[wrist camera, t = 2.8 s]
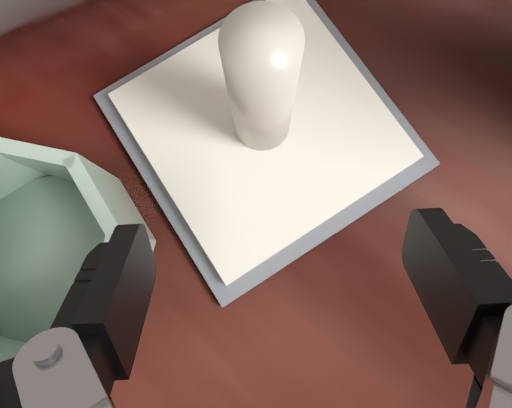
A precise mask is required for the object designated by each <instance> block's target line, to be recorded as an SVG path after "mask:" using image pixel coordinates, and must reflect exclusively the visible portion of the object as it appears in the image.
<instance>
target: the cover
mask: <svg viewBox="0 0 512 408" xmlns="http://www.w3.org/2000/svg"><path fill="white" fill-rule="evenodd" d="M108 95H109V97H110V99H111V100H112V102H113V104H114V105H115V107H116V108H117V110H118V112H119V113H120V115H121V117H122V118H123V120H124V121H125V123H126V125H127V126H128V128H129V129H130V131H131V133H132V134H133V136H134V138H135V139H136V141H137V142H138V144H139V146H140V147H141V149H142V151H143V152H144V154H145V155H146V157H147V159H148V160H149V162H150V163H151V165H152V167H153V168H154V170H155V172H156V173H157V175H158V176H159V178H160V180H161V181H162V183H163V185H164V186H165V188H166V189H167V191H168V193H169V194H170V196H171V197H172V199H173V201H174V202H175V204H176V206H177V207H178V209H179V210H180V212H181V214H182V215H183V217H184V219H185V220H186V222H187V223H188V225H189V227H190V228H191V230H192V232H193V233H194V235H195V236H196V238H197V240H198V241H199V243H200V244H201V246H202V248H203V249H204V251H205V253H206V254H207V256H208V257H209V259H210V261H211V262H212V264H213V266H214V267H215V269H216V270H217V272H218V274H219V275H220V277H221V278H222V280H223V282H224V283H225V285H226V286H227V285H229V284H230V283H232V282H233V281H235V280H236V279H238V278H239V277H241V276H242V275H244V274H245V273H247V272H248V271H250V270H251V269H253V268H255V267H256V266H258V265H259V264H261V263H262V262H264V261H265V260H267V259H268V258H270V257H271V256H273V255H274V254H276V253H277V252H279V251H280V250H282V249H283V248H285V247H287V246H288V245H290V244H291V243H293V242H294V241H296V240H297V239H299V238H300V237H302V236H303V235H305V234H306V233H308V232H309V231H311V230H312V229H314V228H316V227H317V226H319V225H320V224H322V223H323V222H325V221H326V220H328V219H329V218H331V217H332V216H334V215H335V214H337V213H338V212H340V211H341V210H343V209H344V208H346V207H348V206H349V205H351V204H352V203H354V202H355V201H357V200H358V199H360V198H361V197H363V196H364V195H366V194H367V193H369V192H370V191H372V190H373V189H375V188H376V187H378V186H380V185H381V184H383V183H384V182H386V181H387V180H389V179H390V178H392V177H393V176H395V175H396V174H398V173H399V172H401V171H402V170H404V169H405V168H407V167H409V166H410V165H412V164H413V163H415V162H416V161H418V160H419V159H421V158H422V157H423V156H424V155H423V154H422V153H421V152H420V150H419V149H418V148H417V146H416V145H415V144H414V142H413V141H412V140H411V138H410V137H409V136H408V134H407V133H406V132H405V130H404V129H403V128H402V126H401V125H400V124H399V123H398V121H397V120H396V119H395V117H394V116H393V115H392V113H391V112H390V111H389V109H388V108H387V107H386V105H385V104H384V103H383V101H382V100H381V99H380V98H379V96H378V95H377V94H376V92H375V91H374V90H373V88H372V87H371V86H370V84H369V83H368V82H367V80H366V79H365V78H364V76H363V75H362V74H361V72H360V71H359V70H358V69H357V67H356V66H355V65H354V63H353V62H352V61H351V59H350V58H349V57H348V55H347V54H346V53H345V51H344V50H343V49H342V47H341V46H340V45H339V43H338V42H337V41H336V40H335V38H334V37H333V36H332V34H331V33H330V32H329V30H328V29H327V28H326V26H325V25H324V24H323V22H322V21H321V20H320V18H319V17H318V16H317V14H316V13H315V12H314V11H313V9H312V8H311V7H310V5H309V4H308V3H307V1H306V0H266V1H253V2H249V3H246V4H243V5H241V6H239V7H238V8H236V9H235V10H233V11H232V12H231V13H230V14H229V15H228V16H227V17H226V18H225V20H224V21H223V23H222V25H221V27H220V28H218V29H217V30H215V31H213V32H212V33H210V34H208V35H206V36H205V37H203V38H201V39H200V40H198V41H196V42H195V43H193V44H191V45H190V46H188V47H186V48H185V49H183V50H181V51H179V52H178V53H176V54H174V55H173V56H171V57H169V58H168V59H166V60H164V61H163V62H161V63H159V64H158V65H156V66H154V67H152V68H151V69H149V70H147V71H146V72H144V73H142V74H141V75H139V76H137V77H136V78H134V79H132V80H131V81H129V82H127V83H125V84H124V85H122V86H120V87H119V88H117V89H115V90H114V91H112V92H110V93H109V94H108Z"/></svg>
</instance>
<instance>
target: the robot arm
mask: <svg viewBox="0 0 512 408" xmlns="http://www.w3.org/2000/svg"><path fill="white" fill-rule="evenodd" d="M402 260H403V264H404V267H405V270H406V272H407V274H408V276H409V278H410V280H411V282H412V284H413V286H414V288H415V290H416V292H417V294H418V296H419V298H420V300H421V302H422V304H423V306H424V308H425V310H426V312H427V314H428V317H429V319H430V321H431V323H432V325H433V327H434V329H435V331H436V333H437V335H438V337H439V339H440V341H441V343H442V345H443V347H444V349H445V351H446V353H447V355H448V357H449V359H450V361H451V363H452V364H469V365H470V367H471V369H472V371H473V372H474V373H473V374H472V376H471V379H470V382H469V386H468V390H467V393H466V397H465V401H464V405H463V408H512V279H511V278H510V277H509V276H508V274H507V273H506V272H505V271H504V269H503V268H502V267H501V265H500V264H499V263H498V262H496V261H495V258H494V257H493V255H492V254H491V253H490V252H489V251H487V248H486V247H485V245H484V244H483V243H482V241H481V240H480V239H479V238H478V236H477V235H476V234H474V233H473V232H471V231H470V230H468V229H467V228H466V227H464V226H463V225H461V224H453V223H452V221H451V220H450V218H449V217H448V216H447V214H446V213H445V212H444V210H443V209H441V208H427V209H414V210H412V212H411V214H410V217H409V221H408V225H407V230H406V234H405V238H404V242H403V247H402ZM155 279H156V263H155V258H154V255H153V251H152V248H151V244H150V241H149V237H148V234H147V230H146V227H145V225H144V224H142V223H141V224H123V225H117V226H116V227H115V229H114V231H113V233H112V235H111V237H110V240H109V242H103V243H99V244H98V245H97V246H96V247H95V248H94V249H93V250H92V251H91V252H89V253H88V254H87V256H86V258H85V260H84V262H83V263H82V265H81V267H80V272H78V273H77V275H76V277H75V279H74V284H72V285H71V287H70V289H69V291H68V293H67V295H66V297H65V299H64V301H63V303H62V305H61V307H60V309H59V311H58V313H57V315H56V317H55V319H54V321H53V323H52V325H51V327H50V329H48V330H45V331H43V332H41V333H39V334H37V335H36V336H34V337H33V338H31V339H30V340H29V341H28V342H26V343H25V344H24V345H23V346H22V348H21V349H20V350H19V351H18V353H17V354H16V356H15V357H13V358H11V359H8V360H5V361H1V362H0V408H116V406H115V404H114V402H113V400H112V398H111V396H110V394H111V390H112V387H113V384H114V380H129V377H130V374H131V370H132V366H133V362H134V359H135V355H136V351H137V347H138V344H139V340H140V336H141V332H142V328H143V325H144V321H145V317H146V313H147V310H148V306H149V302H150V298H151V294H152V291H153V287H154V283H155Z"/></svg>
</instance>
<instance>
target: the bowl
mask: <svg viewBox="0 0 512 408" xmlns="http://www.w3.org/2000/svg"><path fill="white" fill-rule="evenodd" d="M141 223H142V224H144V225H145V227H146V230H147V234H148V237H149V241H150V244H151V248H152V251H154V247H155V243H156V240H155V238H154V236H153V235H152V233H151V231H150V230H149V228H148V226H147V225H146V223H145V221H144V220H143V218H142V216H141V215H140V213H139V211H138V210H137V208H136V206H135V205H134V203H133V201H132V200H131V198H130V196H129V195H128V193H127V191H126V189H125V188H124V186H123V184H122V183H121V181H120V179H118V178H116V177H115V176H113V175H111V174H110V173H108V172H107V171H105V170H103V169H102V168H100V167H98V166H97V165H95V164H94V163H92V162H90V161H89V160H87V159H85V158H84V157H82V156H81V155H79V154H77V153H74V152H69V151H65V150H60V149H55V148H50V147H45V146H40V145H35V144H31V143H26V142H21V141H16V140H11V139H6V138H1V137H0V362H1V361H5V360H8V359H11V358H13V357H15V356H16V354H17V353H18V351H19V350H20V349H21V348H22V346H23V345H24V344H25V343H26V342H28V341H29V340H30V339H31V338H33V337H34V336H36V335H37V334H39V333H41V332H43V331H45V330H48V329H50V327H51V325H52V323H53V321H54V319H55V317H56V315H57V313H58V311H59V309H60V307H61V305H62V303H63V301H64V299H65V297H66V295H67V293H68V291H69V289H70V287H71V285H72V284H74V279H75V277H76V275H77V273H78V272H80V267H81V265H82V263H83V262H84V260H85V258H86V256H87V254H88V253H89V252H91V251H92V250H93V249H94V248H95V247H96V246H97V245H98V244H99V243H103V242H109V240H110V237H111V235H112V233H113V231H114V229H115V227H116V226H117V225H123V224H141Z"/></svg>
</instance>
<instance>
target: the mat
mask: <svg viewBox="0 0 512 408" xmlns="http://www.w3.org/2000/svg"><path fill="white" fill-rule="evenodd" d="M254 1H266V0H254ZM306 1H307V3H308V4H309V5H310V7H311V8H312V9H313V11H314V12H315V13H316V14H317V16H318V17H319V18H320V20H321V21H322V22H323V24H324V25H325V26H326V28H327V29H328V30H329V32H330V33H331V34H332V36H333V37H334V38H335V40H336V41H337V42H338V43H339V45H340V46H341V47H342V49H343V50H344V51H345V53H346V54H347V55H348V57H349V58H350V59H351V61H352V62H353V63H354V65H355V66H356V67H357V69H358V70H359V71H360V72H361V74H362V75H363V76H364V78H365V79H366V80H367V82H368V83H369V84H370V86H371V87H372V88H373V90H374V91H375V92H376V94H377V95H378V96H379V98H380V99H381V100H382V101H383V103H384V104H385V105H386V107H387V108H388V109H389V111H390V112H391V113H392V115H393V116H394V117H395V119H396V120H397V121H398V123H399V124H400V125H401V126H402V128H403V129H404V130H405V132H406V133H407V134H408V136H409V137H410V138H411V140H412V141H413V142H414V144H415V145H416V146H417V148H418V149H419V150H420V152H421V153H422V154H423V155H424V156H423V157H422V158H421V159H419V160H418V161H416V162H415V163H413V164H412V165H410V166H409V167H407V168H405V169H404V170H402V171H401V172H399V173H398V174H396V175H395V176H393V177H392V178H390V179H389V180H387V181H386V182H384V183H383V184H381V185H380V186H378V187H376V188H375V189H373V190H372V191H370V192H369V193H367V194H366V195H364V196H363V197H361V198H360V199H358V200H357V201H355V202H354V203H352V204H351V205H349V206H348V207H346V208H344V209H343V210H341V211H340V212H338V213H337V214H335V215H334V216H332V217H331V218H329V219H328V220H326V221H325V222H323V223H322V224H320V225H319V226H317V227H316V228H314V229H312V230H311V231H309V232H308V233H306V234H305V235H303V236H302V237H300V238H299V239H297V240H296V241H294V242H293V243H291V244H290V245H288V246H287V247H285V248H283V249H282V250H280V251H279V252H277V253H276V254H274V255H273V256H271V257H270V258H268V259H267V260H265V261H264V262H262V263H261V264H259V265H258V266H256V267H255V268H253V269H251V270H250V271H248V272H247V273H245V274H244V275H242V276H241V277H239V278H238V279H236V280H235V281H233V282H232V283H230V284H229V285H227V286H226V285H225V283H224V282H223V280H222V278H221V277H220V275H219V274H218V272H217V270H216V269H215V267H214V266H213V264H212V262H211V261H210V259H209V257H208V256H207V254H206V253H205V251H204V249H203V248H202V246H201V244H200V243H199V241H198V240H197V238H196V236H195V235H194V233H193V232H192V230H191V228H190V227H189V225H188V223H187V222H186V220H185V219H184V217H183V215H182V214H181V212H180V210H179V209H178V207H177V206H176V204H175V202H174V201H173V199H172V197H171V196H170V194H169V193H168V191H167V189H166V188H165V186H164V185H163V183H162V181H161V180H160V178H159V176H158V175H157V173H156V172H155V170H154V168H153V167H152V165H151V163H150V162H149V160H148V159H147V157H146V155H145V154H144V152H143V151H142V149H141V147H140V146H139V144H138V142H137V141H136V139H135V138H134V136H133V134H132V133H131V131H130V129H129V128H128V126H127V125H126V123H125V121H124V120H123V118H122V117H121V115H120V113H119V112H118V110H117V108H116V107H115V105H114V104H113V102H112V100H111V99H110V97H109V95H108V94H109V93H110V92H112V91H114V90H115V89H117V88H119V87H120V86H122V85H124V84H125V83H127V82H129V81H131V80H132V79H134V78H136V77H137V76H139V75H141V74H142V73H144V72H146V71H147V70H149V69H151V68H152V67H154V66H156V65H158V64H159V63H161V62H163V61H164V60H166V59H168V58H169V57H171V56H173V55H174V54H176V53H178V52H179V51H181V50H183V49H185V48H186V47H188V46H190V45H191V44H193V43H195V42H196V41H198V40H200V39H201V38H203V37H205V36H206V35H208V34H210V33H212V32H213V31H215V30H217V29H218V28H220V27H221V25H222V23H223V21H224V20H225V18H226V17H225V18H223V19H222V20H220V21H218V22H217V23H215V24H213V25H211V26H210V27H208V28H206V29H205V30H203V31H201V32H200V33H198V34H196V35H195V36H193V37H191V38H189V39H188V40H186V41H184V42H183V43H181V44H179V45H178V46H176V47H174V48H173V49H171V50H169V51H167V52H166V53H164V54H162V55H161V56H159V57H157V58H156V59H154V60H152V61H151V62H149V63H147V64H145V65H144V66H142V67H140V68H139V69H137V70H135V71H134V72H132V73H130V74H129V75H127V76H125V77H123V78H122V79H120V80H118V81H117V82H115V83H113V84H112V85H110V86H108V87H107V88H105V89H103V90H101V91H100V92H98V93H96V94H95V95H93V96H94V98H95V100H96V101H97V103H98V105H99V106H100V108H101V110H102V111H103V113H104V115H105V116H106V118H107V119H108V121H109V123H110V124H111V126H112V128H113V129H114V131H115V133H116V134H117V136H118V138H119V139H120V141H121V142H122V144H123V146H124V147H125V149H126V151H127V152H128V154H129V156H130V157H131V159H132V161H133V162H134V164H135V165H136V167H137V169H138V170H139V172H140V174H141V175H142V177H143V179H144V180H145V182H146V183H147V185H148V187H149V188H150V190H151V192H152V193H153V195H154V197H155V198H156V200H157V202H158V203H159V205H160V206H161V208H162V210H163V211H164V213H165V215H166V216H167V218H168V220H169V221H170V223H171V225H172V226H173V228H174V229H175V231H176V233H177V234H178V236H179V238H180V239H181V241H182V243H183V244H184V246H185V247H186V249H187V251H188V252H189V254H190V256H191V257H192V259H193V261H194V262H195V264H196V266H197V267H198V269H199V270H200V272H201V274H202V275H203V277H204V279H205V280H206V282H207V284H208V285H209V287H210V289H211V290H212V292H213V293H214V295H215V297H216V298H217V300H218V302H219V303H220V305H221V307H222V308H223V307H224V306H226V305H228V304H229V303H231V302H232V301H234V300H235V299H237V298H238V297H240V296H241V295H243V294H244V293H246V292H247V291H249V290H250V289H252V288H253V287H255V286H256V285H258V284H259V283H261V282H262V281H264V280H265V279H267V278H268V277H270V276H271V275H273V274H274V273H276V272H277V271H279V270H281V269H282V268H284V267H285V266H287V265H288V264H290V263H291V262H293V261H294V260H296V259H297V258H299V257H300V256H302V255H303V254H305V253H306V252H308V251H309V250H311V249H312V248H314V247H315V246H317V245H318V244H320V243H321V242H323V241H324V240H326V239H327V238H329V237H330V236H332V235H333V234H335V233H337V232H338V231H340V230H341V229H343V228H344V227H346V226H347V225H349V224H350V223H352V222H353V221H355V220H356V219H358V218H359V217H361V216H362V215H364V214H365V213H367V212H368V211H370V210H371V209H373V208H374V207H376V206H377V205H379V204H380V203H382V202H383V201H385V200H386V199H388V198H389V197H391V196H393V195H394V194H396V193H397V192H399V191H400V190H402V189H403V188H405V187H406V186H408V185H409V184H411V183H412V182H414V181H415V180H417V179H418V178H420V177H421V176H423V175H424V174H426V173H427V172H429V171H430V170H432V169H433V168H435V167H436V166H438V165H439V164H440V163H439V162H438V160H437V159H436V158H435V156H434V155H433V154H432V152H431V151H430V150H429V148H428V147H427V146H426V145H425V143H424V142H423V141H422V139H421V138H420V137H419V135H418V134H417V133H416V131H415V130H414V129H413V128H412V126H411V125H410V124H409V122H408V121H407V120H406V118H405V117H404V116H403V114H402V113H401V112H400V111H399V109H398V108H397V107H396V105H395V104H394V103H393V101H392V100H391V99H390V97H389V96H388V95H387V94H386V92H385V91H384V90H383V88H382V87H381V86H380V84H379V83H378V82H377V80H376V79H375V78H374V77H373V75H372V74H371V73H370V71H369V70H368V69H367V67H366V66H365V65H364V63H363V62H362V61H361V60H360V58H359V57H358V56H357V54H356V53H355V52H354V50H353V49H352V48H351V46H350V45H349V44H348V42H347V41H346V40H345V39H344V37H343V36H342V35H341V33H340V32H339V31H338V29H337V28H336V27H335V25H334V24H333V23H332V22H331V20H330V19H329V18H328V16H327V15H326V14H325V12H324V11H323V10H322V8H321V7H320V6H319V5H318V3H317V2H316V1H315V0H306ZM252 2H253V1H252Z"/></svg>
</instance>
